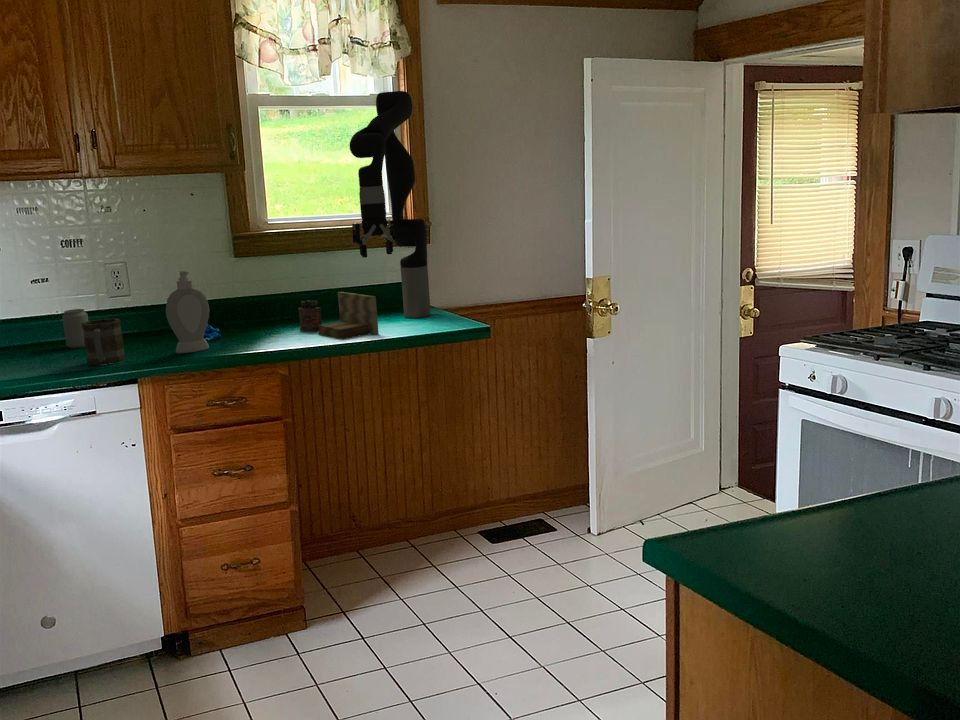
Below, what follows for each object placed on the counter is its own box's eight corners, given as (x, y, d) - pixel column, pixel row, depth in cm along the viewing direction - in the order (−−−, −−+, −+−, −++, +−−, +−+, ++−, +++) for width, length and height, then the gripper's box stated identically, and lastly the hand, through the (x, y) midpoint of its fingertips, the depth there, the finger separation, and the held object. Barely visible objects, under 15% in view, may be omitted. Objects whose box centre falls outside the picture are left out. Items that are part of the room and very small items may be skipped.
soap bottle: (175, 356, 274) (165, 274, 269) (168, 352, 281) (158, 272, 276) (219, 349, 281) (209, 269, 276) (211, 346, 288) (201, 267, 282)
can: (67, 350, 295) (62, 312, 292) (65, 346, 301) (60, 310, 299) (93, 346, 298) (87, 309, 296) (90, 343, 305) (85, 307, 302)
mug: (90, 360, 276) (84, 320, 274) (128, 356, 278) (123, 317, 276) (80, 371, 261) (74, 329, 258) (121, 367, 263) (115, 325, 261)
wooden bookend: (314, 333, 300) (310, 296, 297) (345, 327, 307) (341, 291, 304) (346, 340, 285) (343, 301, 282) (378, 334, 292) (375, 296, 289)
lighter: (298, 331, 306) (295, 301, 303) (303, 329, 309) (300, 299, 307) (319, 331, 303) (316, 301, 300) (324, 329, 306) (322, 299, 304)
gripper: (387, 199, 286) (391, 252, 290) (345, 203, 278) (350, 257, 282) (399, 200, 280) (403, 253, 284) (357, 203, 272) (362, 259, 276)
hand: (377, 255), depth 283 cm, fingers open, 8 cm apart
